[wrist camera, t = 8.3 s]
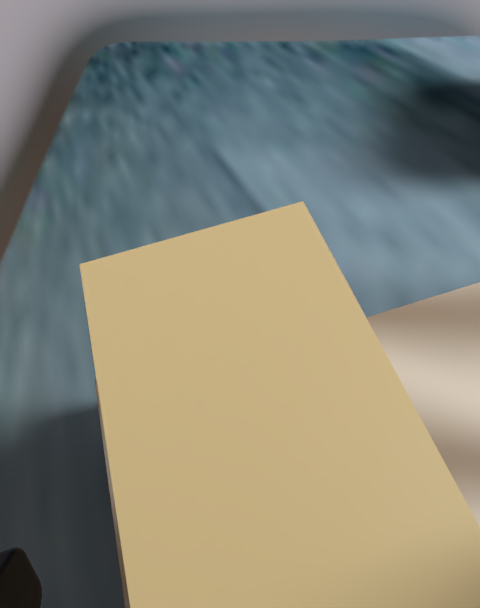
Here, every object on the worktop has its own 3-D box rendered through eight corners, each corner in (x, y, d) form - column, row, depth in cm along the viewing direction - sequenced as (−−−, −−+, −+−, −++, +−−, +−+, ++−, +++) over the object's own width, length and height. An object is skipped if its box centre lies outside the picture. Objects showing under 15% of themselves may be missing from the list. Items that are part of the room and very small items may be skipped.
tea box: (336, 542, 15) (526, 604, 4) (231, 583, 14) (148, 764, 4) (278, 390, 18) (304, 198, 7) (190, 420, 17) (76, 262, 7)
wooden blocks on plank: (813, 570, 14) (1308, 617, 7) (193, 841, 12) (103, 1266, 5) (551, 264, 21) (688, 143, 14) (120, 398, 18) (40, 330, 12)
